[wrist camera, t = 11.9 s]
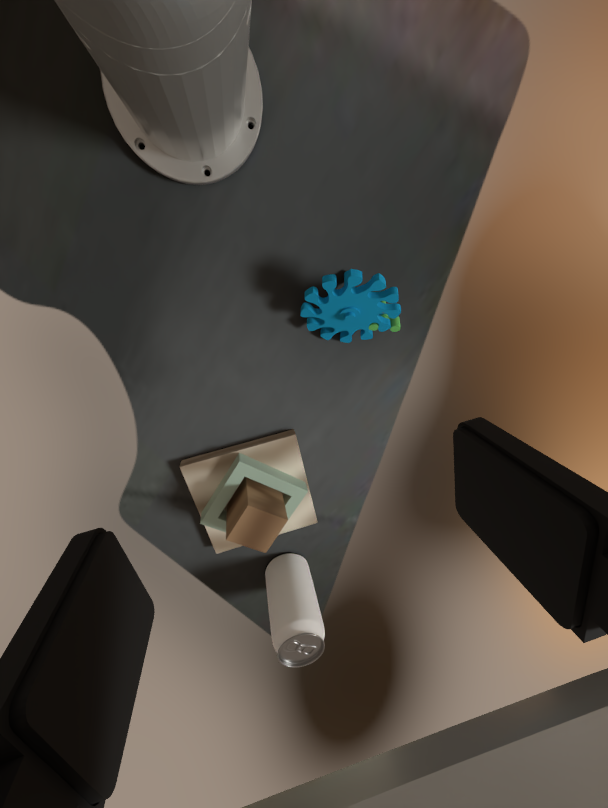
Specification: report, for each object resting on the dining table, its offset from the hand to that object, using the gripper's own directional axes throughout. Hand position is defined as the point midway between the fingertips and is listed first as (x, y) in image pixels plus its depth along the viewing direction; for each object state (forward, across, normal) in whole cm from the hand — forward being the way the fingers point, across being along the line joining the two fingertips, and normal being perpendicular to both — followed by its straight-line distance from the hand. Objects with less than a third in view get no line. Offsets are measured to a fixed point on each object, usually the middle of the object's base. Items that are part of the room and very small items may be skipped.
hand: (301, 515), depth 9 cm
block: (+29, +5, +20) cm, 35 cm away
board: (+30, +5, +20) cm, 37 cm away
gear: (+31, -11, 0) cm, 32 cm away
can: (+31, +4, +35) cm, 47 cm away
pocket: (+29, +5, +20) cm, 35 cm away
